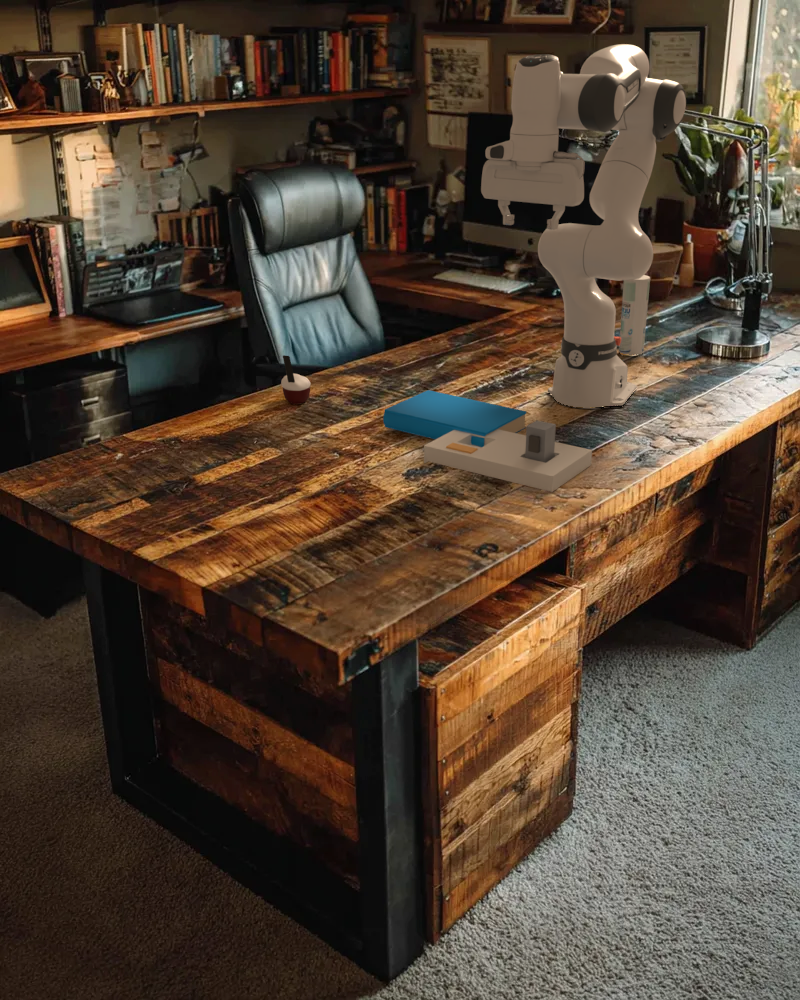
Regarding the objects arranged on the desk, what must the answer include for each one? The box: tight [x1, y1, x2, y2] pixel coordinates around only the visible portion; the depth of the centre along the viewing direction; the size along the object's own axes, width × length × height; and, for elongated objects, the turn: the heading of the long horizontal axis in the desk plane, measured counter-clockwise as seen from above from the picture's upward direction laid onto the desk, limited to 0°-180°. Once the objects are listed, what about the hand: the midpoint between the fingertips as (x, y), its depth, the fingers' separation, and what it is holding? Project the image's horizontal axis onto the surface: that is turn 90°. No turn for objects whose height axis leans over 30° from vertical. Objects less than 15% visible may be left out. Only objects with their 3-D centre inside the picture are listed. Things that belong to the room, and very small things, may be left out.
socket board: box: [423, 429, 593, 493], centre depth 210 cm, size 16×28×4 cm, turn 55°
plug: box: [525, 420, 557, 463], centre depth 205 cm, size 5×4×9 cm
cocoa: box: [280, 354, 312, 405], centre depth 246 cm, size 10×6×12 cm, turn 140°
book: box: [382, 389, 527, 447], centre depth 228 cm, size 17×4×25 cm
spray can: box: [618, 274, 651, 355], centre depth 279 cm, size 6×6×20 cm
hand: (530, 226), depth 205 cm, fingers open, 8 cm apart
